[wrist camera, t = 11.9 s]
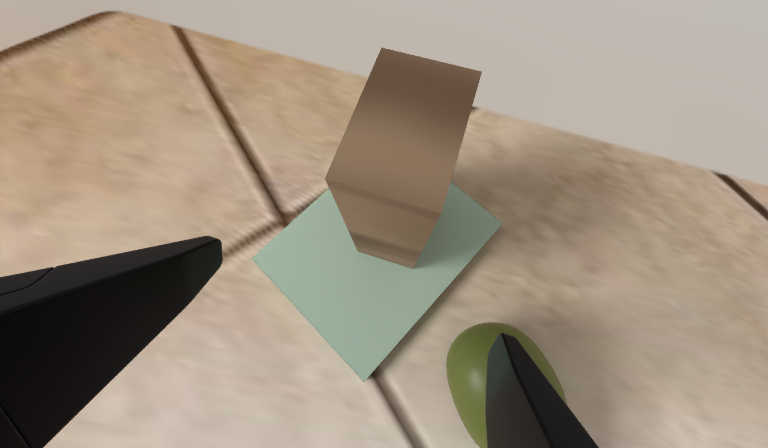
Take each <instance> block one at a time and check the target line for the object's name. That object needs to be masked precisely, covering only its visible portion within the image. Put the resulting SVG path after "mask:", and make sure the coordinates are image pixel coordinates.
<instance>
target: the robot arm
mask: <svg viewBox="0 0 768 448" xmlns="http://www.w3.org/2000/svg"><path fill="white" fill-rule="evenodd" d="M222 261H223V258H222V243H221V241H220V240H219V239H217V238H214V237H211V236H203V237H198V238H193V239H188V240H183V241H178V242H174V243H169V244H164V245H159V246H154V247H149V248H144V249H139V250H134V251H129V252H124V253H119V254H115V255H110V256H105V257H100V258H95V259H90V260H85V261H80V262H75V263H70V264H65V265H60V266H56V267H55V268H53V267H50V268H45V269H40V270H36V271H31V272H25V273H20V274H15V275H10V276H5V277H0V448H43V447H44V446H45V445H46V444H47V443H48V442H49V441H50V440H51V439H52V438H53V437H54V436H56V435H57V434H58V433H59V432H60V431H61V430H62V429H63V428H64V427H65V426H66V425H67V424H68V423H69V422H70V421H71V420H72V419H73V418H74V417H75V416H76V415H77V414H78V413H79V412H80V411H81V410H82V409H83V408H84V407H85V406H86V405H87V404H88V403H89V402H90V401H91V400H92V399H93V398H94V397H95V396H96V395H97V394H98V393H99V392H100V391H101V390H102V389H103V388H104V387H105V386H106V385H107V384H108V383H109V382H110V381H111V380H112V379H113V378H114V377H115V376H117V375H118V374H119V373H120V372H121V371H122V370H123V369H124V368H125V367H126V366H127V365H128V364H129V363H130V362H131V361H132V360H133V359H134V358H135V357H136V356H137V355H138V354H139V353H140V352H141V351H142V350H143V349H144V348H145V347H146V346H147V345H148V344H149V343H150V342H151V341H152V340H153V339H154V338H155V337H156V336H157V335H158V334H159V333H160V332H161V331H162V330H163V329H164V328H165V327H166V326H167V325H168V324H169V323H170V322H171V321H172V320H173V319H174V318H175V317H176V316H178V315H179V314H180V313H181V312H182V311H183V310H184V309H185V307H186V306H187V305H188V304H189V303H190V302H191V301H192V300H193V299H194V298H195V296H196V295H197V294H198V293H199V292H200V290H201V289H202V288H203V287H204V286H205V284H206V283H207V282H208V281H209V280H210V279H211V277H212V276H213V275H214V274H215V273H216V271H217V270H218V269H219V268H220V266H221V264H222ZM485 417H486V433H487V448H599V447H598V446H597V445H596V443H595V442H594V441H593V439H592V438H591V437H590V435H589V434H588V433H587V431H586V430H585V429H584V427H583V426H582V425H581V423H580V422H579V421H578V419H577V418H576V417H575V415H574V414H573V413H572V411H571V410H570V409H569V407H568V406H567V405H566V403H565V402H564V401H563V399H562V398H561V397H560V395H559V394H558V393H557V391H556V390H555V389H554V387H553V386H552V385H551V383H550V382H549V381H548V379H547V378H546V377H545V375H544V374H543V373H542V371H541V370H540V369H539V367H538V366H537V365H536V363H535V362H534V361H533V359H532V358H531V357H530V355H529V354H528V353H527V351H526V350H525V349H524V347H523V346H522V345H521V343H520V342H519V341H518V339H517V338H516V337H514V336H512V335H509V334H506V333H500V334H499V335H498V336H497V338H496V340H495V341H494V343H493V345H492V347H491V348H490V350H489V353H488V357H487V378H486V401H485Z"/></svg>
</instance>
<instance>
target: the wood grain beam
mask: <svg viewBox="0 0 768 448" xmlns="http://www.w3.org/2000/svg"><path fill="white" fill-rule="evenodd" d="M481 73H482V72H481V71H476V70H472V69H468V68H464V67H460V66H456V65H451V64H447V63H443V62H439V61H435V60H430V59H426V58H422V57H418V56H414V55H410V54H406V53H402V52H397V51H393V50H389V49H385V48H381V50H380V53H379V55H378V57H377V59H376V62H375V64H374V66H373V69H372V71H371V73H370V76H369V78H368V80H367V83H366V85H365V87H364V90H363V92H362V94H361V97H360V99H359V101H358V103H357V106H356V108H355V110H354V113H353V115H352V117H351V120H350V122H349V124H348V127H347V129H346V131H345V134H344V136H343V138H342V140H341V143H340V145H339V147H338V150H337V152H336V154H335V157H334V159H333V161H332V164H331V166H330V168H329V171H328V173H327V175H326V178H325V180H326V182H327V184H328V186H329V189H330V191H331V193H332V195H333V198H334V200H335V202H336V204H337V207H338V209H339V211H340V213H341V215H342V218H343V220H344V222H345V224H346V227H347V229H348V231H349V233H350V236H351V238H352V240H353V242H354V244H355V247H356V249H357V251H358V252H361V253H365V254H368V255H371V256H374V257H377V258H380V259H383V260H386V261H389V262H392V263H396V264H399V265H402V266H405V267H408V268H411V269H413V268H414V266H415V264H416V262H417V260H418V258H419V256H420V254H421V252H422V250H423V248H424V246H425V244H426V243H427V241H428V239H429V237H430V235H431V233H432V231H433V229H434V227H435V225H436V223H437V221H438V219H439V217H440V215H441V213H442V210H443V206H444V203H445V199H446V196H447V192H448V189H449V185H450V181H451V178H452V174H453V171H454V167H455V164H456V160H457V157H458V153H459V150H460V146H461V143H462V139H463V136H464V132H465V129H466V125H467V122H468V118H469V115H470V111H471V108H472V104H473V101H474V97H475V94H476V90H477V87H478V83H479V80H480V76H481Z"/></svg>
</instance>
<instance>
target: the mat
mask: <svg viewBox="0 0 768 448" xmlns="http://www.w3.org/2000/svg"><path fill="white" fill-rule="evenodd" d="M502 224H503V223H502V222H501V221H499V220H498V219H497V218H496V217H494V216H493V215H492V214H491V213H489V212H488V211H487V210H486V209H484V208H483V207H482V206H481V205H480V204H478V203H477V202H476V201H475V200H473V199H472V198H471V197H470V196H468V195H467V194H466V193H465V192H463V191H462V190H461V189H460V188H458V187H457V186H456V185H455V184H453V183H452V182H451V181H450V185H449V189H448V192H447V196H446V199H445V203H444V206H443V210H442V213H441V215H440V217H439V219H438V221H437V223H436V225H435V227H434V229H433V231H432V233H431V235H430V237H429V239H428V241H427V243H426V244H425V246H424V248H423V250H422V252H421V254H420V256H419V258H418V260H417V262H416V264H415V266H414V268H413V269H411V268H408V267H405V266H402V265H399V264H396V263H392V262H389V261H386V260H383V259H380V258H377V257H374V256H371V255H368V254H365V253H361V252H358V251H357V249H356V247H355V244H354V242H353V240H352V238H351V236H350V233H349V231H348V229H347V227H346V224H345V222H344V220H343V218H342V215H341V213H340V211H339V209H338V207H337V204H336V202H335V200H334V198H333V195H332V193H331V191H330V189H328V190H327V191H326V192H324V193H323V194H322V195H321V196H320V197H319V198H318V199H317V200H316V201H314V202H313V203H312V204H311V205H310V206H309V207H308V208H307V209H306V210H305V211H303V212H302V213H301V214H300V215H299V216H298V217H297V218H296V219H295V220H293V221H292V222H291V223H290V224H289V225H288V226H287V227H286V228H285V229H284V230H282V231H281V232H280V233H279V234H278V235H277V236H276V237H275V238H274V239H272V240H271V241H270V242H269V243H268V244H267V245H266V246H265V247H264V248H262V249H261V250H260V251H259V252H258V253H257V254H256V255H255V256H254V257H253V258H251V259H252V260H253V261H254V262H255V263H256V264H257V265H258V266H259V267H260V269H261V270H262V271H263V272H264V273H265V274H266V275H267V276H268V277H269V278H270V280H271V281H272V282H273V283H274V284H275V285H276V286H277V287H278V288H279V289H280V291H281V292H282V293H283V294H284V295H285V296H286V297H287V298H288V299H289V300H290V302H291V303H292V304H293V305H294V306H295V307H296V308H297V309H298V310H299V311H300V313H301V314H302V315H303V316H304V317H305V318H306V319H307V320H308V321H309V322H310V324H311V325H312V326H313V327H314V328H315V329H316V330H317V331H318V332H319V333H320V335H321V336H322V337H323V338H324V339H325V340H326V341H327V342H328V343H329V344H330V346H331V347H332V348H333V349H334V350H335V351H336V352H337V353H338V354H339V355H340V357H341V358H342V359H343V360H344V361H345V362H346V363H347V364H348V365H349V366H350V368H351V369H352V370H353V371H354V372H355V373H356V374H357V375H358V376H359V377H360V379H361V380H362V381H363V382H364V381H365V380H366V379H367V378H368V377H369V375H370V374H371V373H372V372H373V371H374V370H375V369H376V367H377V366H378V365H379V364H380V363H381V362H382V361H383V360H384V358H385V357H386V356H387V355H388V354H389V353H390V352H391V350H392V349H393V348H394V347H395V346H396V345H397V344H398V342H399V341H400V340H401V339H402V338H403V337H404V336H405V334H406V333H407V332H408V331H409V330H410V329H411V328H412V326H413V325H414V324H415V323H416V322H417V321H418V320H419V318H420V317H421V316H422V315H423V314H424V313H425V312H426V310H427V309H428V308H429V307H430V306H431V305H432V304H433V303H434V301H435V300H436V299H437V298H438V297H439V296H440V295H441V293H442V292H443V291H444V290H445V289H446V288H447V287H448V285H449V284H450V283H451V282H452V281H453V280H454V279H455V277H456V276H457V275H458V274H459V273H460V272H461V271H462V269H463V268H464V267H465V266H466V265H467V264H468V263H469V261H470V260H471V259H472V258H473V257H474V256H475V255H476V254H477V252H478V251H479V250H480V249H481V248H482V247H483V246H484V244H485V243H486V242H487V241H488V240H489V239H490V238H491V236H492V235H493V234H494V233H495V232H496V231H497V230H498V228H499V227H500V226H501V225H502Z"/></svg>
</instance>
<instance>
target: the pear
mask: <svg viewBox="0 0 768 448" xmlns="http://www.w3.org/2000/svg"><path fill="white" fill-rule="evenodd" d="M500 333H506V334H509V335H512V336H514V337H516V338H517V339H518V341H519V342H520V343H521V345H522V346H523V347H524V349H525V350H526V351H527V353H528V354H529V355H530V357H531V358H532V359H533V361H534V362H535V363H536V365H537V366H538V367H539V369H540V370H541V371H542V373H543V374H544V375H545V377H546V378H547V379H548V381H549V382H550V383H551V385H552V386H553V387H554V389H555V390H556V391H557V393H558V394H559V395H560V397H561V398H562V399H563V401H564V402H565V403H566V399H565V396H564V393H563V390H562V387H561V385H560V382H559V380H558V378H557V376H556V374H555V372H554V371H553V369H552V367H551V365H550V364H549V362H548V361H547V359H546V358H545V356H544V355H543V353H542V352H541V351H540V349H539V348H538V347H537V346H536V345H535V344H534V342H533V341H532V340H531V339H530V338H528V337H527V336H526V335H525V334H524V333H522V332H521V331H519V330H518V329H516V328H514V327H512V326H509V325H506V324H502V323H482V324H478V325H475V326H472V327H470V328H468V329H467V330H465V331H464V332H462V333H461V334H460V335H459V336H458V337H457V338H456V339H455V341H454V342H453V343H452V345H451V347H450V349H449V352H448V356H447V377H448V383H449V387H450V390H451V394H452V397H453V400H454V403H455V405H456V408H457V410H458V413H459V415H460V417H461V419H462V421H463V423H464V425H465V427H466V429H467V431H468V432H469V434H470V435H471V437H472V438H473V440H474V441H475V442H476V443H477V445H478V446H479V447H480V448H487V433H486V417H485V401H486V378H487V357H488V353H489V350H490V348H491V347H492V345H493V343H494V341H495V340H496V338H497V336H498V335H499V334H500ZM566 405H567V403H566Z"/></svg>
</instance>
